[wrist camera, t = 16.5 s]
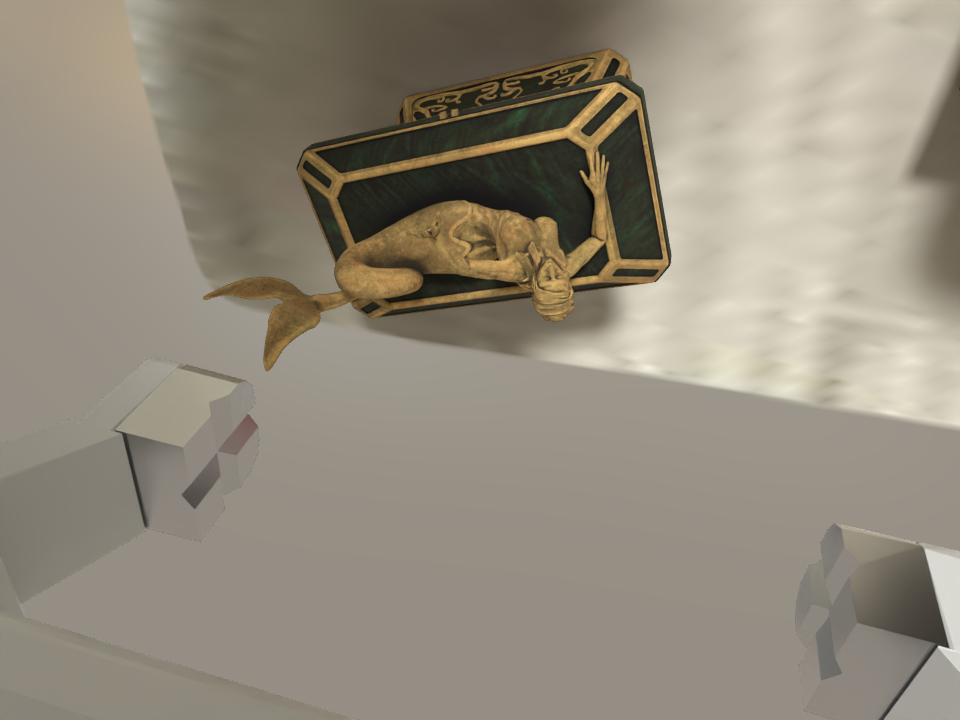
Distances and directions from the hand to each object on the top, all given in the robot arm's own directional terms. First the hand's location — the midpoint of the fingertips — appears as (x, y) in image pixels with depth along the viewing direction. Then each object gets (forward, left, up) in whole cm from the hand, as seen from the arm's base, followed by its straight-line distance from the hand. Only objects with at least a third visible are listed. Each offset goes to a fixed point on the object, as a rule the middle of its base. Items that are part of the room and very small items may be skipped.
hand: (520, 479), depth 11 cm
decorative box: (+9, -8, -35) cm, 37 cm away
